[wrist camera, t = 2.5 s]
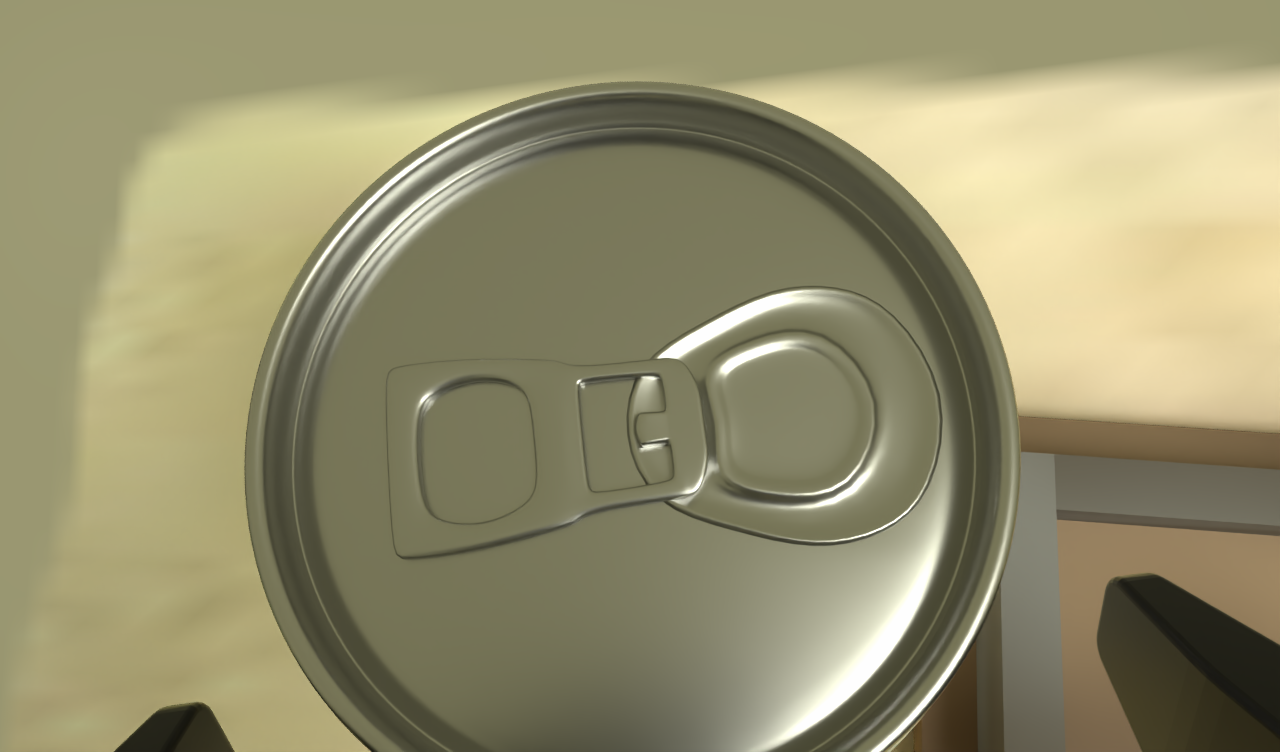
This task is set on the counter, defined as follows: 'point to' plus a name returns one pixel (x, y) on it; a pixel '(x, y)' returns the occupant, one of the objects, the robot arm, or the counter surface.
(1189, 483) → the holder
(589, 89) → the can
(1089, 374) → the counter surface
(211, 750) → the robot arm
